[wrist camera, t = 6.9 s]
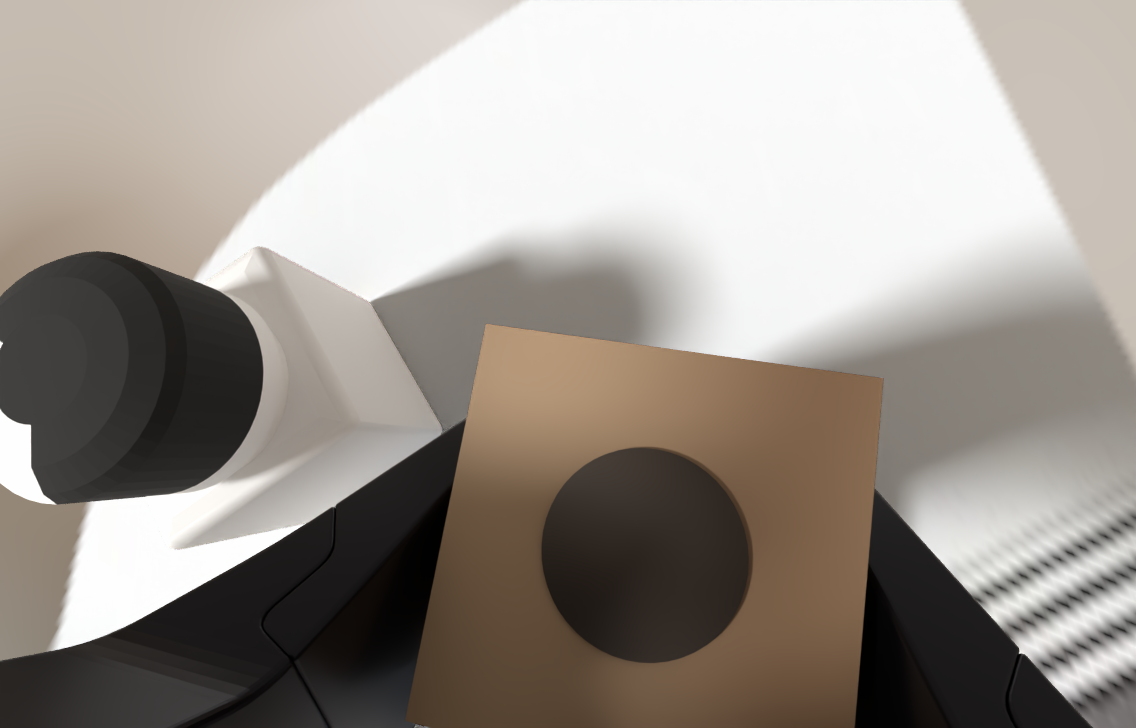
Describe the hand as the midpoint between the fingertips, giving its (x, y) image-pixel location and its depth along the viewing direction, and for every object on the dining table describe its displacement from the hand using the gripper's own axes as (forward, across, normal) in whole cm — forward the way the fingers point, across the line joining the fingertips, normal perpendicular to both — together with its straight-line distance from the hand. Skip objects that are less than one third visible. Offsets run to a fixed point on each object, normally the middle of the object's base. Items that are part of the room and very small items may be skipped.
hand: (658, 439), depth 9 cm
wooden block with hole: (+4, 0, +6) cm, 7 cm away
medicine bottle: (+9, +14, +10) cm, 19 cm away
